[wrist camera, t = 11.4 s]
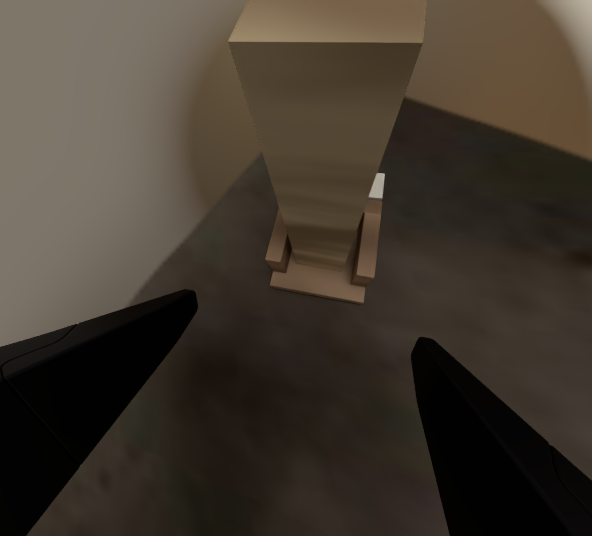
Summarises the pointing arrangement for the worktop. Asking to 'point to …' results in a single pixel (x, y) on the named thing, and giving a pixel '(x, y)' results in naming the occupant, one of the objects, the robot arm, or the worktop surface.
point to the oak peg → (325, 106)
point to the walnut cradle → (325, 281)
